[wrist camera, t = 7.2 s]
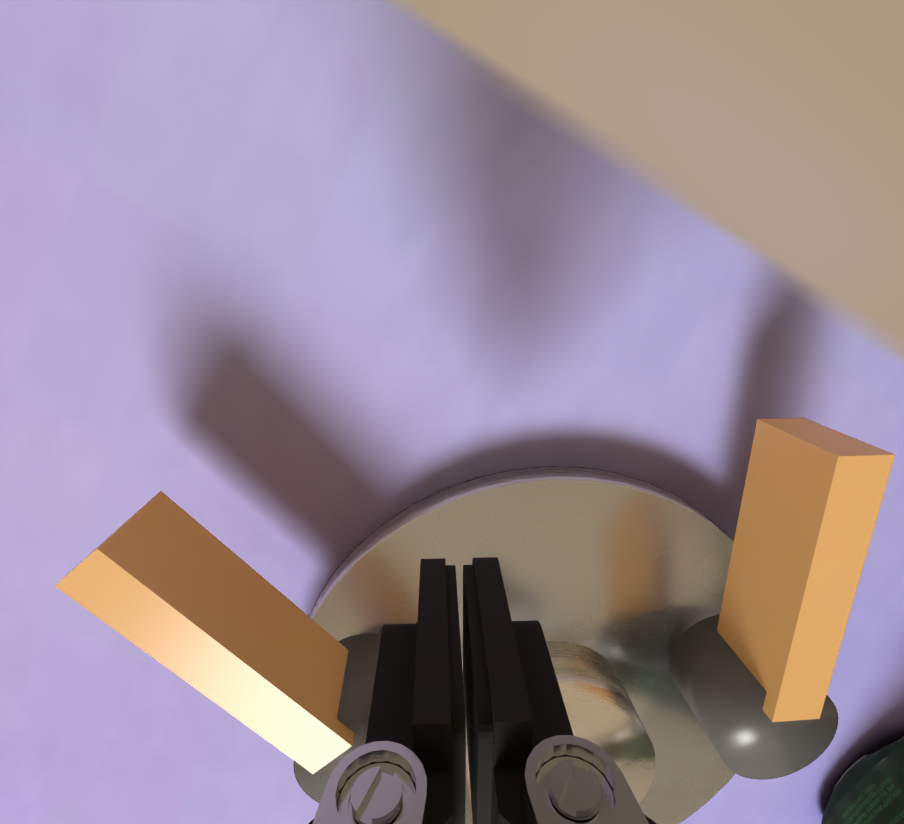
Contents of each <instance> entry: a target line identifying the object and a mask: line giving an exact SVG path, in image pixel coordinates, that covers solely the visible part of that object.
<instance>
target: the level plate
mask: <svg viewBox="0 0 904 824" xmlns="http://www.w3.org/2000/svg"><path fill="white" fill-rule="evenodd" d="M733 543H734V542H733V541H732V540H731V539H730V538H729V537H728V536H727V535H726V534H724V533H723V532H722V531H721V530H720V529H719V528H718V527H717V526H715V525H714V524H713V523H712V522H711V521H710V520H709V519H707V518H706V517H705V516H704V515H703V514H702V513H701V512H700V511H698V510H697V509H695V508H694V507H692V506H691V505H689V504H688V503H686V502H684V501H683V500H681V499H680V498H678V497H677V496H675V495H674V494H671V493H669V492H667V491H665V490H663V489H660V488H658V487H656V486H654V485H652V484H649V483H647V482H645V481H641V480H638V479H634V478H631V477H628V476H624V475H621V474H618V473H613V472H607V471H600V470H594V469H588V468H576V467H539V468H528V469H518V470H510V471H506V472H501V473H497V474H492V475H487V476H483V477H478V478H475V479H472V480H469V481H467V482H464V483H461V484H458V485H455V486H452V487H449V488H446V489H444V490H442V491H440V492H438V493H435V494H433V495H431V496H429V497H427V498H425V499H423V500H421V501H419V502H417V503H415V504H413V505H411V506H410V507H408V508H407V509H405V510H404V511H402V512H401V513H399V514H397V515H396V516H394V517H393V518H391V519H390V520H388V521H387V522H385V523H384V524H383V525H381V526H380V527H379V528H378V529H377V530H375V531H374V532H373V533H372V534H371V535H370V536H368V537H367V538H366V539H365V540H364V541H362V542H361V543H360V544H359V545H358V546H357V547H356V548H355V549H354V551H353V552H352V553H351V554H350V555H349V556H348V557H347V558H346V559H345V560H344V562H343V563H342V564H341V565H340V566H339V567H338V568H337V570H336V571H335V573H334V574H333V576H332V577H331V579H330V580H329V582H328V583H327V585H326V586H325V587H324V589H323V590H322V592H321V594H320V596H319V598H318V600H317V602H316V604H315V606H314V608H313V610H312V612H311V614H310V616H309V617H310V618H311V619H312V620H314V621H315V622H316V623H317V624H318V625H319V626H321V627H322V628H323V629H324V630H325V631H327V632H328V633H329V634H330V635H331V636H332V637H334V638H335V639H336V640H337V641H340V640H342V639H344V638H347V637H349V636H353V635H357V634H364V633H377V634H381V633H382V628H383V625H384V624H416V623H417V620H418V600H419V580H420V561H421V559H437V558H445V561H446V565H455V567H456V581H457V596H458V611H459V626H460V640H461V655H462V670H463V565H472V559H473V558H483V557H498V560H499V564H500V569H501V573H502V578H503V583H504V587H505V592H506V597H507V601H508V606H509V611H510V615H511V620H512V621H532V620H538V621H539V622H540V624H541V627H542V630H543V633H544V637H545V640H546V644H547V647H548V650H549V654H550V657H551V661H552V664H553V667H554V671H555V674H556V678H557V681H558V684H559V688H560V691H561V694H562V698H563V701H564V705H565V708H566V711H567V715H568V718H569V722H570V725H571V728H572V732H573V735H574V736H576V737H580V738H584V739H587V740H588V741H590V742H592V743H594V744H596V745H598V746H600V747H601V748H602V749H603V750H604V751H605V752H606V753H607V754H609V755H610V756H611V757H612V758H613V760H614V761H615V763H616V764H617V765H618V767H619V768H620V770H621V771H622V773H623V775H624V777H625V779H626V781H627V782H628V784H629V786H630V788H631V790H632V792H633V794H634V796H635V798H636V800H637V802H638V804H639V805H640V807H641V809H642V811H643V813H644V814H645V815H646V816H647V817H649V818H650V819H651V820H653V821H654V822H655V823H657V824H679V823H680V822H682V821H684V820H685V819H687V818H688V817H689V816H690V815H692V814H693V813H694V812H696V811H697V810H698V809H699V808H701V807H702V806H703V805H704V804H706V803H707V802H708V801H709V800H710V799H711V798H712V797H713V796H714V795H715V794H716V793H717V792H719V791H720V790H721V789H722V788H723V787H724V786H725V785H726V784H727V783H728V782H729V780H730V779H731V778H732V777H733V776H734V774H735V773H734V772H733V771H731V770H730V769H729V768H728V767H727V766H726V765H725V763H724V762H723V760H722V759H721V757H720V755H719V754H718V752H717V750H716V749H715V747H714V746H713V744H712V742H711V741H710V739H709V737H708V736H707V734H706V733H705V731H704V729H703V728H702V726H701V724H700V723H699V721H698V720H697V718H696V716H695V715H694V713H693V712H692V710H691V708H690V707H689V705H688V703H687V702H686V700H685V699H684V697H683V695H682V694H681V692H680V690H679V689H678V687H677V686H676V684H675V682H674V681H673V679H672V677H671V675H670V671H669V657H670V653H671V651H672V648H673V646H674V644H675V643H676V641H677V640H678V638H679V637H680V636H681V635H682V634H683V633H684V632H685V631H686V630H687V629H688V628H690V627H691V626H692V625H694V624H695V623H697V622H699V621H701V620H703V619H705V618H708V617H711V616H714V615H718V614H720V611H721V606H722V601H723V595H724V590H725V585H726V580H727V574H728V569H729V564H730V559H731V554H732V548H733ZM465 720H466V718H465ZM465 824H473V822H472V807H471V792H470V777H469V762H468V747H467V732H466V803H465Z"/></svg>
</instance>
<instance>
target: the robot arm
mask: <svg viewBox="0 0 904 824" xmlns="http://www.w3.org/2000/svg"><path fill="white" fill-rule="evenodd" d="M465 718H466V720H465ZM466 732H467V747H468V762H469V777H470V792H471V807H472V822H473V824H657V823H655V822H654V821H653V820H651V819H650V818H649V817H647V816H646V815H645V814H644V813H643V811H642V809H641V807H640V805H639V804H638V802H637V800H636V798H635V796H634V794H633V792H632V790H631V788H630V786H629V784H628V782H627V781H626V779H625V777H624V775H623V773H622V771H621V770H620V768H619V767H618V765H617V764H616V763H615V761H614V760H613V758H612V757H611V756H610V755H609V754H607V753H606V752H605V751H604V750H603V749H602V748H601V747H600V746H598V745H596V744H594V743H592V742H590V741H588V740H587V739H584V738H580V737H576V736H574V735H573V732H572V728H571V725H570V722H569V718H568V715H567V711H566V708H565V705H564V701H563V698H562V694H561V691H560V688H559V684H558V681H557V678H556V674H555V671H554V667H553V664H552V661H551V657H550V654H549V650H548V647H547V644H546V640H545V637H544V633H543V630H542V627H541V624H540V622H539V621H538V620H532V621H512V620H511V615H510V611H509V606H508V601H507V597H506V592H505V587H504V583H503V578H502V573H501V569H500V564H499V560H498V557H483V558H473V559H472V565H463V670H462V655H461V640H460V626H459V611H458V596H457V581H456V567H455V565H446V561H445V558H437V559H421V561H420V580H419V600H418V620H417V623H416V624H384V625H383V628H382V633H381V640H380V647H379V654H378V660H377V667H376V674H375V681H374V688H373V694H372V701H371V708H370V715H369V722H368V728H367V735H366V742H365V745H362V746H359V747H358V748H356V749H355V750H353V751H352V752H350V753H348V754H347V755H346V756H345V757H344V758H343V759H342V760H341V761H340V762H339V763H338V765H337V766H336V767H335V768H334V770H333V772H332V774H331V776H330V778H329V780H328V782H327V784H326V787H325V790H324V793H323V795H322V798H321V801H320V804H319V807H318V809H317V812H316V815H315V818H314V819H313V820H312V821H311V822H310V823H309V824H465V803H466Z"/></svg>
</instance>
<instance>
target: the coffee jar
mask: <svg viewBox="0 0 904 824" xmlns="http://www.w3.org/2000/svg"><path fill="white" fill-rule="evenodd" d="M821 824H904V736H903V737H902V738H900V739H899V740H897V741H895V742H893V743H891V744H889V745H887V746H885V747H882V748H881V749H879V750H877V751H876V752H874V753H872V754H869V755H864V756H862V757H861V758H859V759H858V760H857V761H856V762H855V763H854V764H852V765H851V766H850V767H849V768H848V769H847V770H846V771H845V772H844V774H843V775H842V776H841V778H840V779H839V780H838V782H837V783H836V785H835V787H834V789H833V791H832V794H831V797H830V800H829V802H828V804H827V806H826V808H825V810H824V813H823V817H822V823H821Z"/></svg>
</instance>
